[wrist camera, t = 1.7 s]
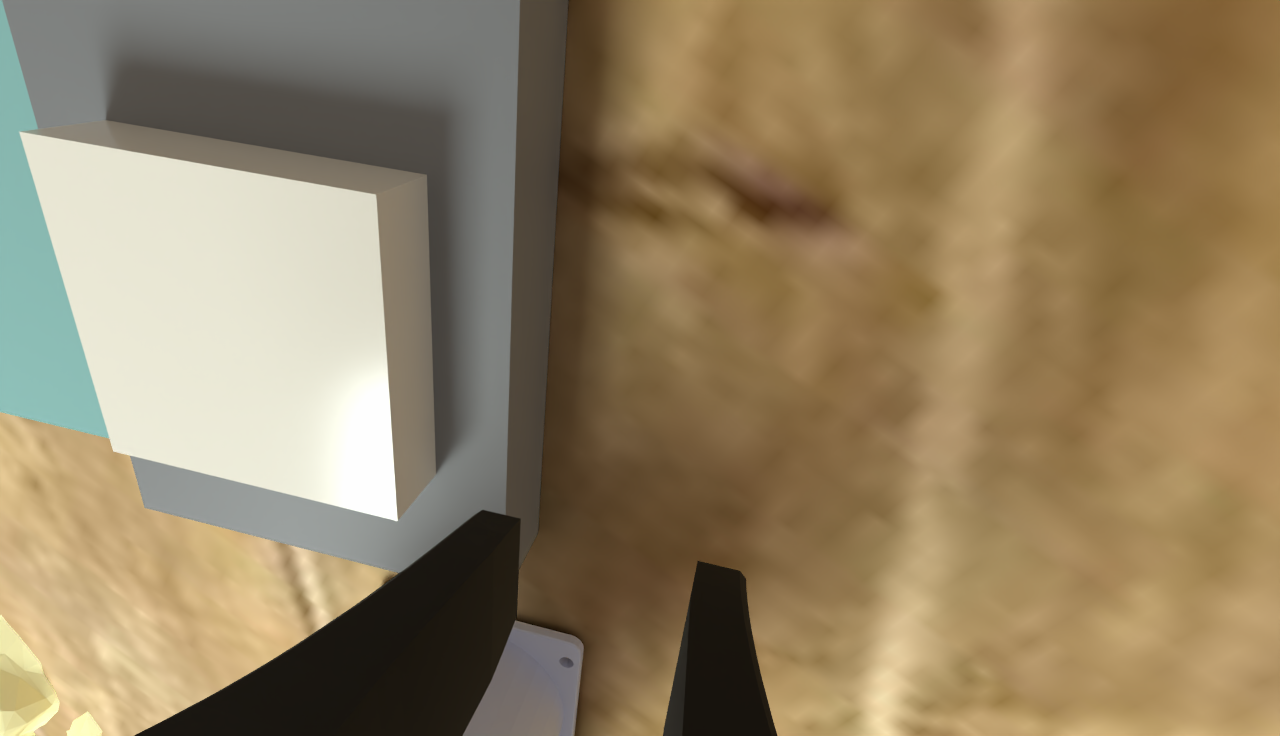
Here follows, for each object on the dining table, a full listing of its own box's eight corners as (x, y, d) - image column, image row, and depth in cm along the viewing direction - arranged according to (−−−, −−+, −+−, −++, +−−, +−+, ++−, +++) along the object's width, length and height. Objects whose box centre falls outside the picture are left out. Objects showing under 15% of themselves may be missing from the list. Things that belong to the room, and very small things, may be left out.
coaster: (435, 474, 19) (397, 520, 17) (175, 413, 20) (113, 451, 18) (426, 174, 15) (376, 195, 13) (105, 119, 16) (19, 131, 14)
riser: (538, 533, 23) (503, 599, 20) (216, 456, 24) (144, 507, 22) (569, -18, 15) (520, -27, 13) (103, -77, 17) (-26, -95, 14)
